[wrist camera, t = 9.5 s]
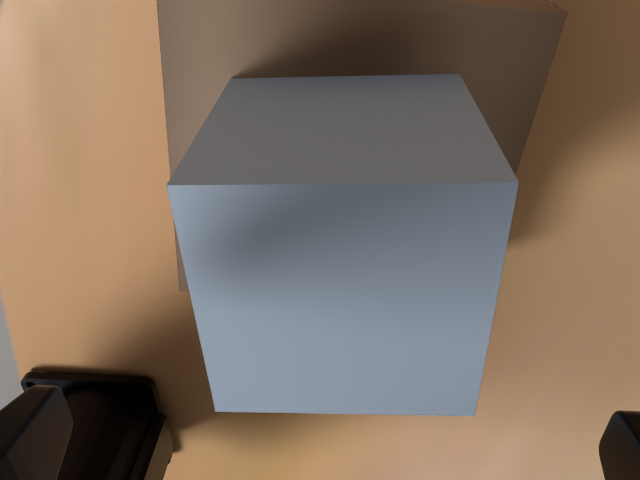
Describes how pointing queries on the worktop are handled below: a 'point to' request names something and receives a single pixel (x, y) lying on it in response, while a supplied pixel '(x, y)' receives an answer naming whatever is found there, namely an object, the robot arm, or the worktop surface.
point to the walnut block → (357, 54)
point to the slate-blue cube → (344, 243)
